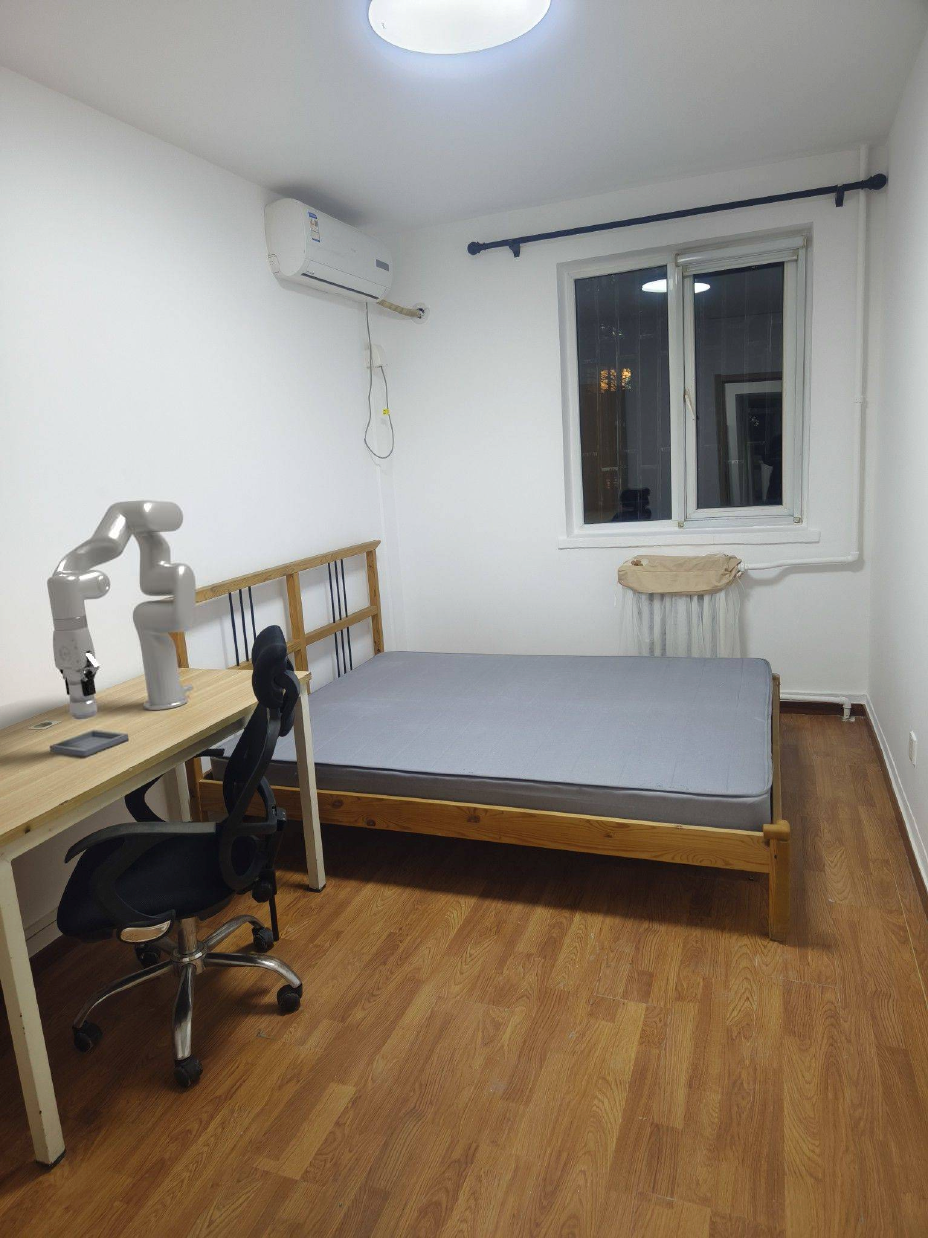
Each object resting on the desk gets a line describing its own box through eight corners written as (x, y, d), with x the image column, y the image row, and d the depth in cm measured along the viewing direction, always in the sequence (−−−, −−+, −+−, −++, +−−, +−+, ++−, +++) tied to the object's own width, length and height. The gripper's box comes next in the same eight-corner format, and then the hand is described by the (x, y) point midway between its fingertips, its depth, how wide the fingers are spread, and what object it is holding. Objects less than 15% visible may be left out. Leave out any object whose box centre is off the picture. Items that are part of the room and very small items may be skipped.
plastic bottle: (68, 723, 196) (56, 645, 193) (74, 716, 203) (62, 640, 199) (96, 720, 198) (84, 642, 194) (101, 712, 204) (89, 637, 201)
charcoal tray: (94, 736, 210) (93, 729, 210) (128, 740, 205) (127, 734, 204) (50, 752, 199) (49, 746, 199) (85, 758, 193) (84, 751, 193)
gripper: (34, 626, 197) (45, 696, 200) (80, 628, 189) (91, 700, 192) (61, 620, 203) (72, 688, 206) (107, 622, 195) (117, 692, 199)
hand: (81, 693), depth 199 cm, fingers closed on plastic bottle, 5 cm apart
